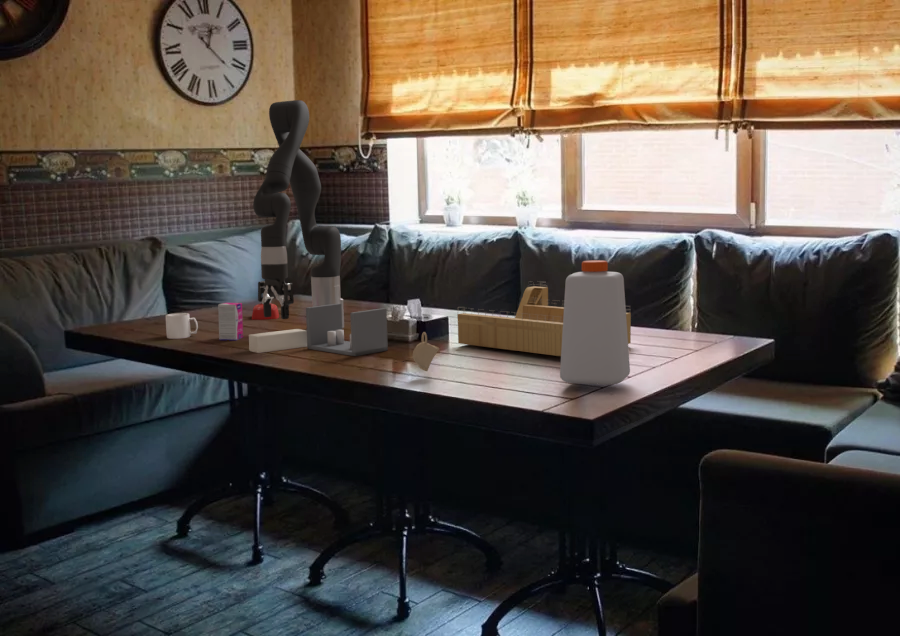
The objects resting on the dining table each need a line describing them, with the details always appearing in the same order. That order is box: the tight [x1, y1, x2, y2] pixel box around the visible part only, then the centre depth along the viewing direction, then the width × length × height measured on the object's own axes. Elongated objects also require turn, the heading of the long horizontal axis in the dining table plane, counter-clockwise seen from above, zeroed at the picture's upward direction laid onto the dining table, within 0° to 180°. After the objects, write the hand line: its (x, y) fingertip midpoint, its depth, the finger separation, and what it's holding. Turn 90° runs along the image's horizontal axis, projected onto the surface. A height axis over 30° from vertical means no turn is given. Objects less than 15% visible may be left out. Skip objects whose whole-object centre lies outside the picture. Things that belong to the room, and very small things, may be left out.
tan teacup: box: [412, 331, 440, 372], centre depth 254 cm, size 4×8×5 cm
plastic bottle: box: [559, 259, 631, 386], centre depth 238 cm, size 15×15×28 cm
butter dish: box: [251, 302, 280, 321], centre depth 354 cm, size 12×12×8 cm
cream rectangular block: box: [248, 328, 308, 354], centre depth 296 cm, size 16×6×5 cm, turn 127°
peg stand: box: [305, 304, 389, 357], centre depth 290 cm, size 22×12×12 cm, turn 45°
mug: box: [165, 312, 199, 340], centre depth 321 cm, size 10×7×8 cm
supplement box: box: [217, 302, 244, 342], centre depth 314 cm, size 6×6×12 cm
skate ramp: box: [456, 280, 632, 357], centre depth 292 cm, size 40×35×16 cm
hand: (276, 317), depth 295 cm, fingers open, 8 cm apart
